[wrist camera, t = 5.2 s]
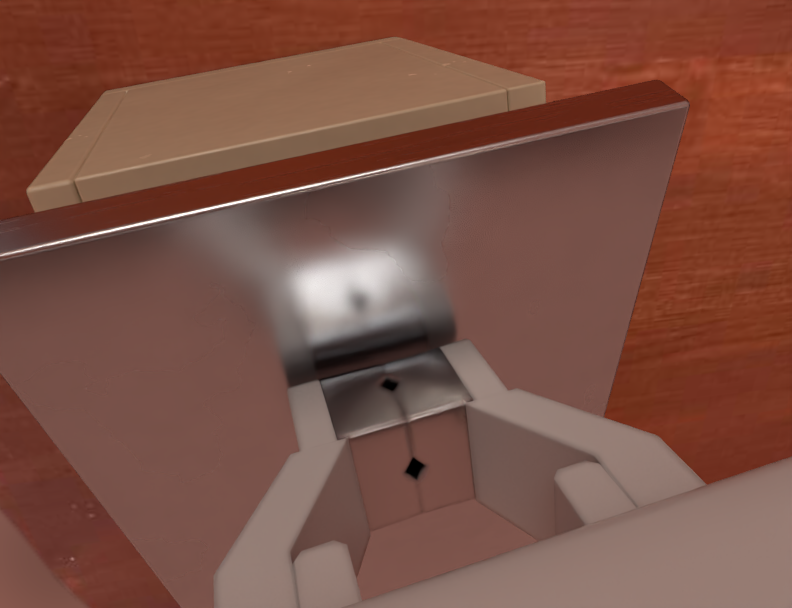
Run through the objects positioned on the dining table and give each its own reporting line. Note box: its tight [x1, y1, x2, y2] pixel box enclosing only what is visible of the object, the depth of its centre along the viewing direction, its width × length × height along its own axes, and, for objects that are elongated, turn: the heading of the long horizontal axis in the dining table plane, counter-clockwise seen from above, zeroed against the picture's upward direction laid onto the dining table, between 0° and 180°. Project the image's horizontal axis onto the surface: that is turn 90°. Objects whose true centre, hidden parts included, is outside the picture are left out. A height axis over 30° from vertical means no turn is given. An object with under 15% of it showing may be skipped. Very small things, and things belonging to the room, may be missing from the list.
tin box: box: [26, 37, 546, 212], centre depth 19 cm, size 12×10×11 cm
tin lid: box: [0, 80, 690, 608], centre depth 12 cm, size 12×10×1 cm
